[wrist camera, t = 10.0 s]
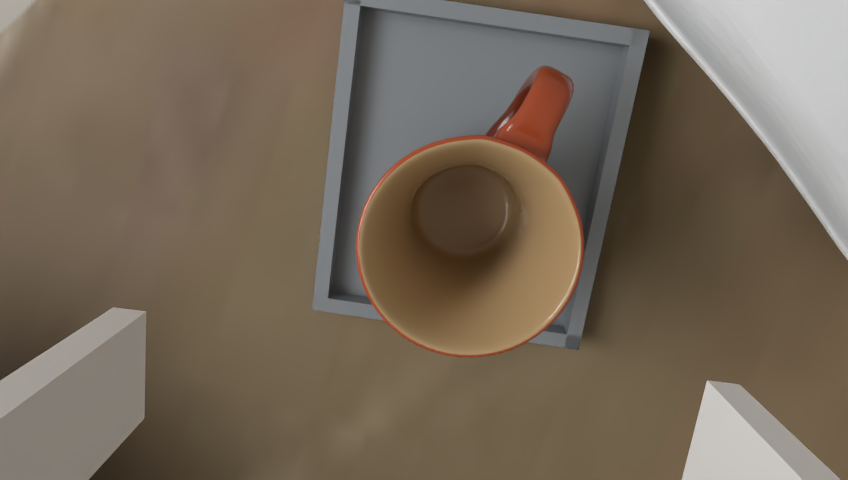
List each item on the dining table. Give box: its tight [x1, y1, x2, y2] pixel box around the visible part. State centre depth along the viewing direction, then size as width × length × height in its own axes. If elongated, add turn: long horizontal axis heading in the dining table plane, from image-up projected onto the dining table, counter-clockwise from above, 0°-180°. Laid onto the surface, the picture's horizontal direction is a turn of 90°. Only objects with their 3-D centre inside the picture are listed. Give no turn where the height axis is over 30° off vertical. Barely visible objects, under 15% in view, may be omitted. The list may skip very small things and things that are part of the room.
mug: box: [356, 65, 584, 357], centre depth 27 cm, size 12×9×10 cm
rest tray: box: [312, 0, 650, 350], centre depth 32 cm, size 15×17×2 cm
